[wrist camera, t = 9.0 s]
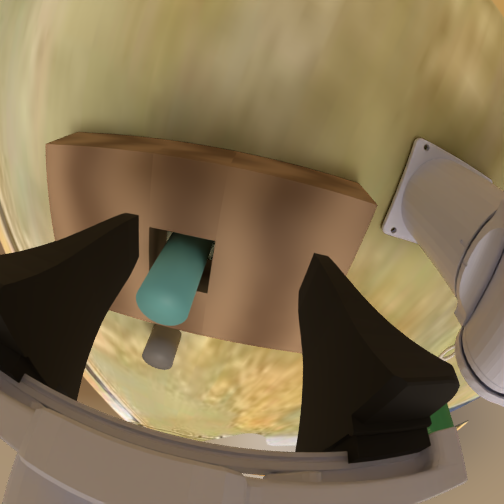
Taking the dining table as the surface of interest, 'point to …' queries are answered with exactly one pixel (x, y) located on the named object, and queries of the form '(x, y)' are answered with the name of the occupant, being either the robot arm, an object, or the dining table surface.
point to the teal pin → (174, 279)
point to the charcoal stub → (161, 347)
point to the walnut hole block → (213, 224)
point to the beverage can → (440, 420)
